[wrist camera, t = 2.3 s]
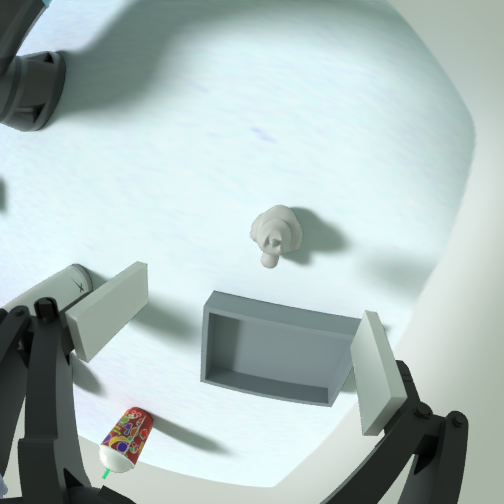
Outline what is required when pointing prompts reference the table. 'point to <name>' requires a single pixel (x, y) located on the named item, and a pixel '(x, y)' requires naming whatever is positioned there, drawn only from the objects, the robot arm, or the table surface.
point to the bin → (275, 349)
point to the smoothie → (125, 441)
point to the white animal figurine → (276, 234)
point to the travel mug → (53, 290)
